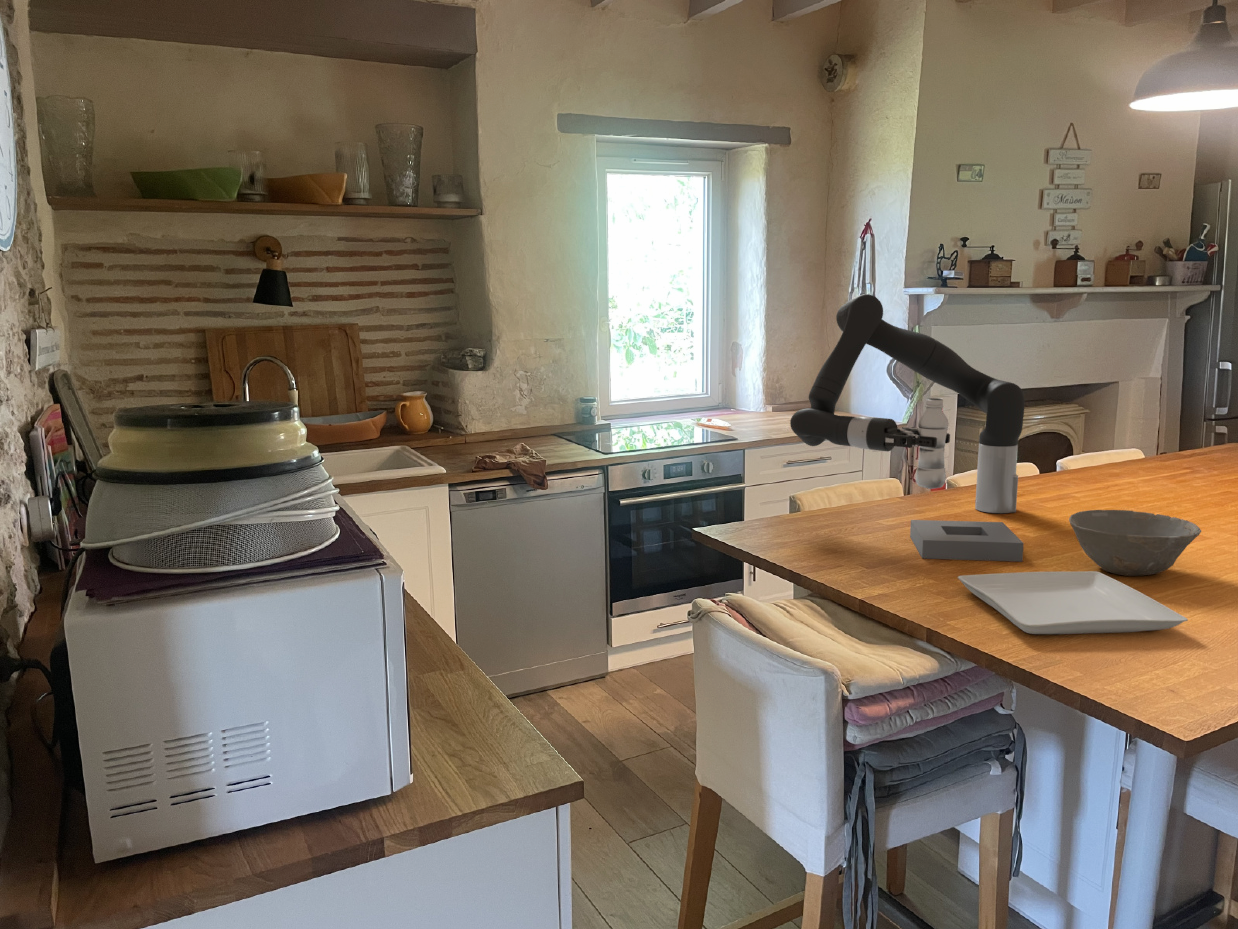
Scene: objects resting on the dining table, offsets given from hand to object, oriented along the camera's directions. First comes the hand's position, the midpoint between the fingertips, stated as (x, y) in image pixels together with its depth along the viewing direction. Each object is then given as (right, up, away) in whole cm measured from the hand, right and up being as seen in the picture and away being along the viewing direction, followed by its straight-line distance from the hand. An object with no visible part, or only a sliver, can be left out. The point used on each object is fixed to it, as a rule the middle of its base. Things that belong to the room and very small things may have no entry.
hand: (942, 440), depth 198 cm
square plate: (+7, -32, -40) cm, 52 cm away
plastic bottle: (-2, -11, +4) cm, 11 cm away
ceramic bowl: (+31, -27, -17) cm, 44 cm away
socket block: (+5, -24, 0) cm, 24 cm away
